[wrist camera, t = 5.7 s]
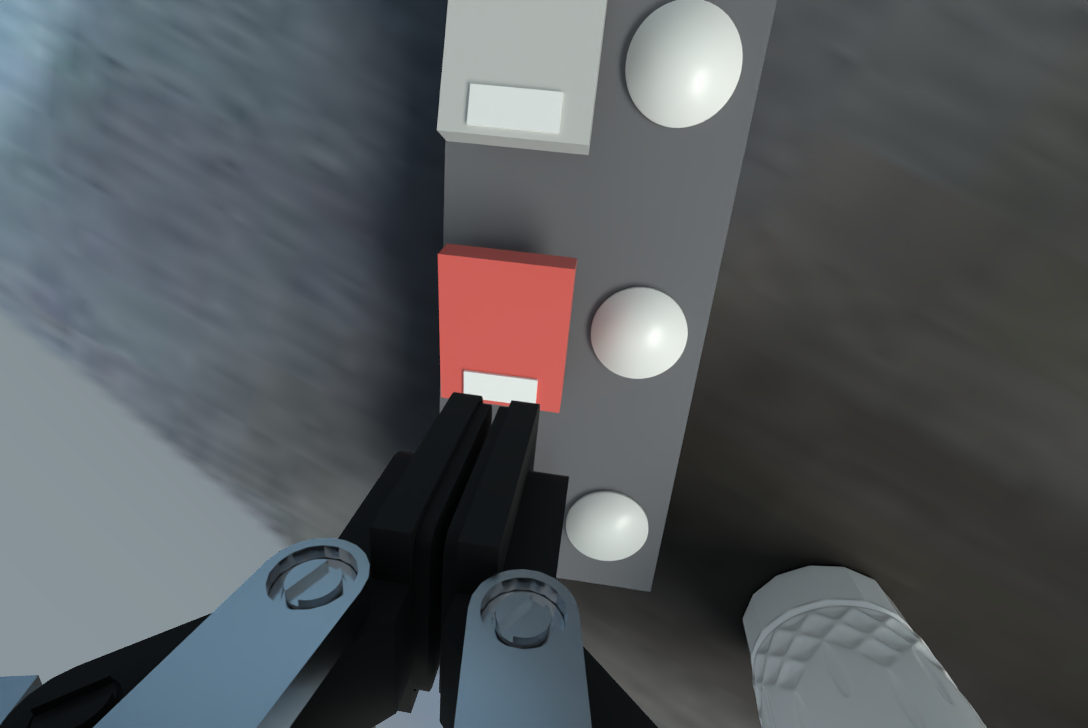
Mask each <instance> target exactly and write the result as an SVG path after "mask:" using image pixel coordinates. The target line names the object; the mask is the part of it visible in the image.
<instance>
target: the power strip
mask: <svg viewBox="0 0 1088 728" xmlns="http://www.w3.org/2000/svg"><path fill="white" fill-rule="evenodd" d="M776 3H777V0H607V8H606V17H605V25H604V33H603V41H602V50H601V58H600V66H599V74H598V82H597V91H596V99H595V107H594V115H593V124H592V132H591V140H590V148H589V155H582V154H572V153H562V152H552V151H542V150H532V149H521V148H511V147H501V146H491V145H481V144H471V143H461V142H451V141H446V140H445V180H444V227H443V247H444V246H445V245H446V244H456V245H465V246H474V247H483V248H492V249H501V250H510V251H519V252H527V253H536V254H545V255H554V256H563V257H572V258H577V265H576V274H575V283H574V292H573V301H572V311H571V320H570V329H569V338H568V347H567V356H566V365H565V374H564V383H563V392H562V400H561V406H560V412H559V413H556V412H548V411H540V412H539V422H538V432H537V441H536V451H535V460H534V470H533V471H536V472H543V473H550V474H556V475H563V476H569V482H568V490H567V498H566V505H565V513H564V521H563V529H562V536H561V544H560V552H559V559H558V567H557V575H556V578H563V579H569V580H576V581H583V582H589V583H596V584H602V585H609V586H616V587H622V588H629V589H635V590H642V591H648V592H650V591H651V587H652V582H653V577H654V573H655V568H656V563H657V559H658V554H659V549H660V545H661V540H662V535H663V531H664V526H665V521H666V517H667V512H668V507H669V503H670V498H671V493H672V489H673V484H674V479H675V475H676V470H677V465H678V461H679V456H680V451H681V447H682V442H683V437H684V433H685V428H686V423H687V419H688V414H689V409H690V405H691V400H692V395H693V390H694V386H695V381H696V376H697V372H698V367H699V362H700V358H701V353H702V348H703V344H704V339H705V334H706V330H707V325H708V320H709V316H710V311H711V306H712V302H713V297H714V292H715V288H716V283H717V278H718V274H719V269H720V264H721V260H722V255H723V250H724V246H725V241H726V236H727V232H728V227H729V222H730V218H731V213H732V208H733V204H734V199H735V194H736V190H737V185H738V180H739V176H740V171H741V166H742V162H743V157H744V152H745V148H746V143H747V138H748V134H749V129H750V124H751V120H752V115H753V110H754V106H755V101H756V96H757V92H758V87H759V82H760V77H761V73H762V68H763V63H764V59H765V54H766V49H767V45H768V40H769V35H770V31H771V26H772V21H773V17H774V12H775V7H776ZM448 399H449V398H442V397H441V376H440V412H441V411H442V409H443V407H444V406H445V404H446V403H447V401H448ZM483 404H487V403H483ZM490 405H492V422H491V425H492V423H493V420H494V418H495V415H496V413H497V411H498V408H499V406H502V405H495V404H490ZM504 407H509V406H504Z"/></svg>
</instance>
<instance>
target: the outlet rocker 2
mask: <svg viewBox="0 0 1088 728" xmlns="http://www.w3.org/2000/svg"><path fill="white" fill-rule="evenodd" d="M576 265H577V258H572V257H563V256H554V255H545V254H536V253H527V252H519V251H510V250H501V249H492V248H483V247H474V246H465V245H456V244H446V245H445V246H444V247H443V249H442V250H441V251H440V252H439V253H438V287H439V332H440V376H441V397H442V398H450V396H451V394H452V393H453V392H458V393H465V394H472V395H479V396H482V397H483V403H487V404H495V405H502V406H509V405H510V402H511V401H512V400H514V401H522V402H529V403H536V404H540V411H548V412H556V413H559V412H560V406H561V400H562V392H563V383H564V374H565V365H566V356H567V347H568V338H569V329H570V320H571V311H572V301H573V292H574V283H575V274H576Z"/></svg>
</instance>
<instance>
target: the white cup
mask: <svg viewBox="0 0 1088 728" xmlns="http://www.w3.org/2000/svg"><path fill="white" fill-rule="evenodd" d="M743 624H744V630H745V635H746V640H747V645H748V650H749V654H750V658H751V664H752V670H753V677H752V683H753V687H754V691H755V695H756V701H757V708H758V714H759V718H760V722H761V726H762V728H987V727H986V726H985V725H984V723H983V722H982V720H981V719H980V717H979V716H978V714H977V713H976V711H975V710H974V709H973V707H972V706H971V704H970V703H969V702H968V701H967V699H966V698H965V697H964V696H963V695H962V693H961V692H960V691H959V690H958V688H957V687H956V685H955V684H954V682H953V681H952V679H951V678H950V676H949V675H948V673H947V672H946V671H945V669H944V668H943V667H942V665H941V664H940V663H939V662H938V661H937V659H936V658H935V657H934V655H933V654H932V652H931V651H930V649H929V648H928V646H927V645H926V644H925V642H924V641H923V639H922V638H921V637H920V636H919V635H917V634H916V633H915V632H914V631H913V630H912V629H911V627H910V626H909V625H908V623H907V622H906V620H905V619H904V617H903V616H902V614H901V613H900V612H899V610H898V609H897V607H896V606H895V604H894V603H893V602H892V600H891V599H890V598H889V597H888V596H887V594H886V593H885V592H884V591H883V589H882V588H881V587H880V586H879V585H878V583H877V582H876V581H875V580H874V579H871V578H869V577H867V576H864V575H862V574H860V573H857V572H855V571H853V570H851V569H848V568H846V567H837V566H812V565H810V566H806V567H802V568H799V569H796V570H792V571H789V572H786V573H783V574H780V575H777V576H775V577H774V578H773V579H772V580H770V581H769V582H768V583H767V584H765V585H764V586H763V587H762V588H760V589H759V590H758V591H757V592H755V593H754V594H753V596H752V598H751V600H750V602H749V605H748V607H747V609H746V612H745V614H744V616H743Z"/></svg>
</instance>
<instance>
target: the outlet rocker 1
mask: <svg viewBox="0 0 1088 728" xmlns="http://www.w3.org/2000/svg"><path fill="white" fill-rule="evenodd" d="M606 8H607V0H448V8H447V19H446V30H445V42H444V53H443V65H442V76H441V88H440V99H439V110H438V122H437V131H438V132H439V133H440V134H441V135H442V137H443V138H444V139H445V140H446V141H451V142H461V143H471V144H481V145H491V146H501V147H511V148H521V149H532V150H542V151H552V152H562V153H572V154H582V155H589V148H590V140H591V132H592V124H593V115H594V107H595V99H596V91H597V82H598V74H599V66H600V58H601V50H602V41H603V33H604V25H605V17H606Z"/></svg>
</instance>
